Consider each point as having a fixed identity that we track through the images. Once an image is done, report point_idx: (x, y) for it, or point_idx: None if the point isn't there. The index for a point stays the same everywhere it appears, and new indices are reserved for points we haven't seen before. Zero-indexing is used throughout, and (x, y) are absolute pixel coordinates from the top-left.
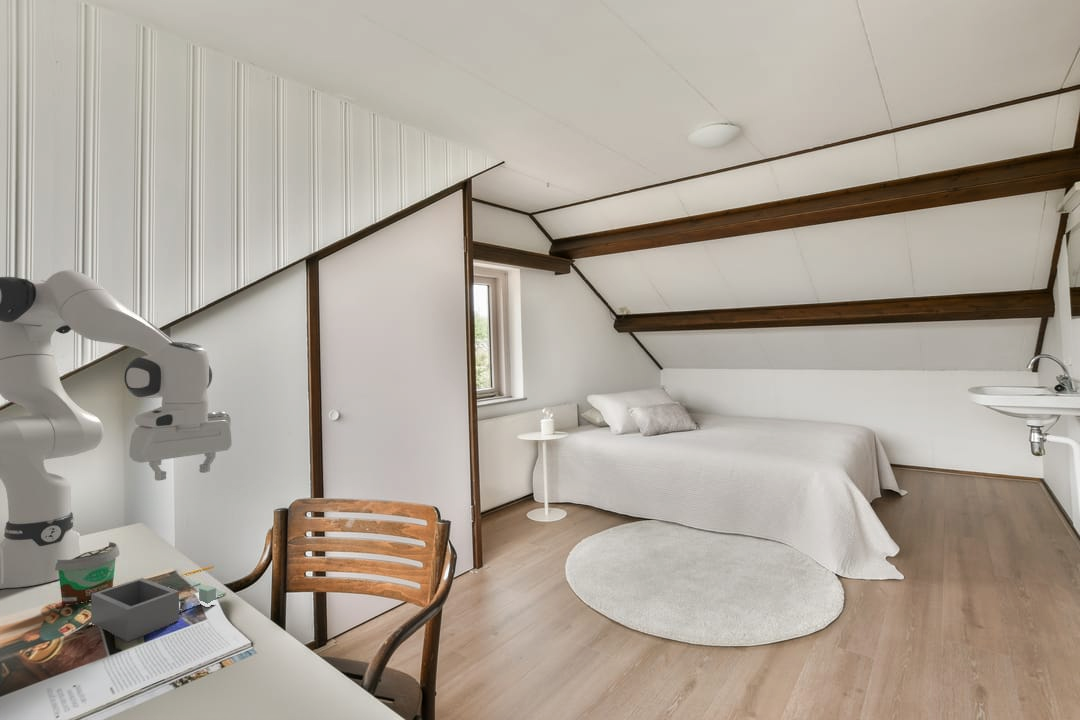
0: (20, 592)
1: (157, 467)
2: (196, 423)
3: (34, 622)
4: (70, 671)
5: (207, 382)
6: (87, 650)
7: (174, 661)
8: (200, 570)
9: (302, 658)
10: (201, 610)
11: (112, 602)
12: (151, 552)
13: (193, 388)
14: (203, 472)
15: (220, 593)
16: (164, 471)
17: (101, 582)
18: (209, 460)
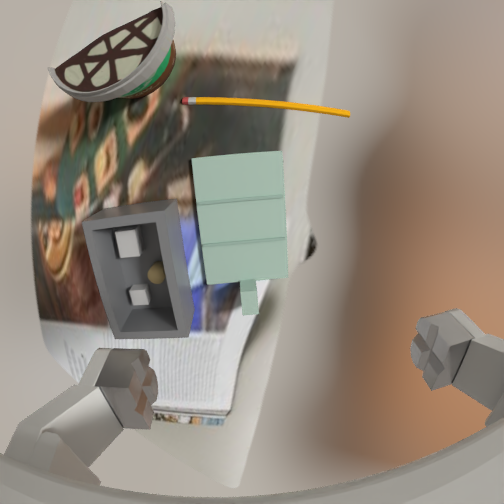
0: None
1: (83, 459)
2: None
3: (59, 129)
4: (77, 327)
5: None
6: (91, 293)
7: (159, 389)
8: (324, 112)
9: (242, 449)
10: (232, 300)
11: (101, 293)
12: None
13: None
14: (412, 352)
15: (280, 273)
16: (140, 417)
17: (135, 93)
18: (480, 394)
